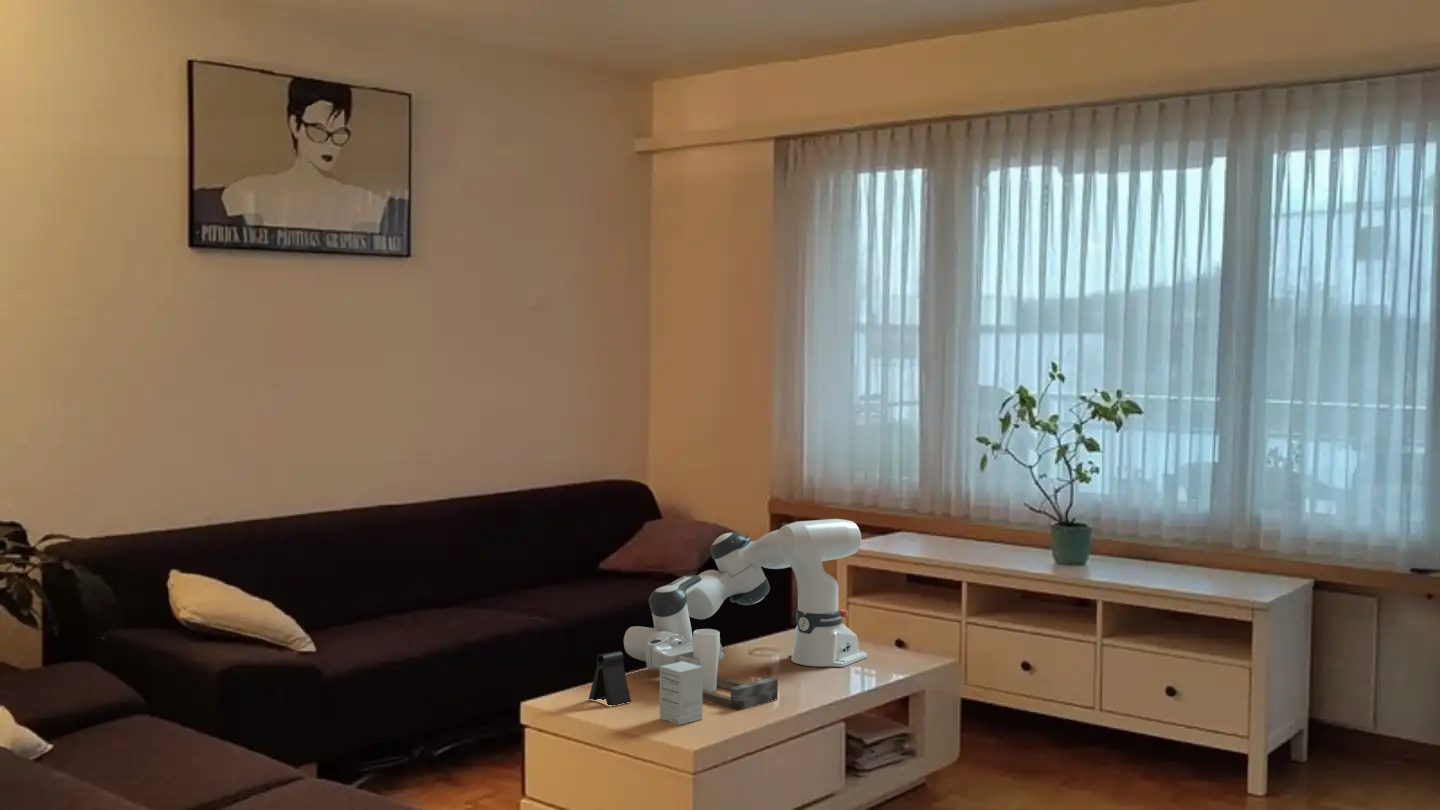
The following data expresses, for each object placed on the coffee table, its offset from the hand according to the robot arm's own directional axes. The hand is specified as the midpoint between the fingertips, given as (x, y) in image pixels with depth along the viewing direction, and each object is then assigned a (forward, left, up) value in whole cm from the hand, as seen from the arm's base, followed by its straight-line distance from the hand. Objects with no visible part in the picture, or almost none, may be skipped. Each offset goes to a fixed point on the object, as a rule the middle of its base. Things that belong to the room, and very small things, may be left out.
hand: (708, 659), depth 340 cm
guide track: (0, +6, -8) cm, 10 cm away
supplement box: (+22, +13, -8) cm, 27 cm away
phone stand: (+24, -10, -8) cm, 27 cm away
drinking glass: (0, -1, -8) cm, 8 cm away
